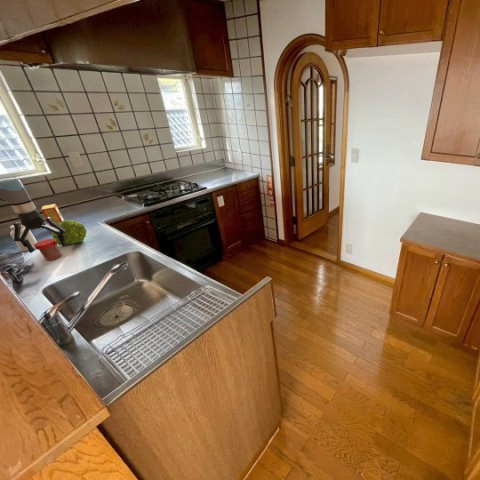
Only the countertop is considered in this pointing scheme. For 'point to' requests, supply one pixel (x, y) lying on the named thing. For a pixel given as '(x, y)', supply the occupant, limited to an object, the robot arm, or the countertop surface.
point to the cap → (45, 244)
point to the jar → (51, 253)
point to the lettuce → (71, 232)
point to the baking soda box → (52, 213)
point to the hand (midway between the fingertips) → (49, 248)
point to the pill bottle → (29, 237)
